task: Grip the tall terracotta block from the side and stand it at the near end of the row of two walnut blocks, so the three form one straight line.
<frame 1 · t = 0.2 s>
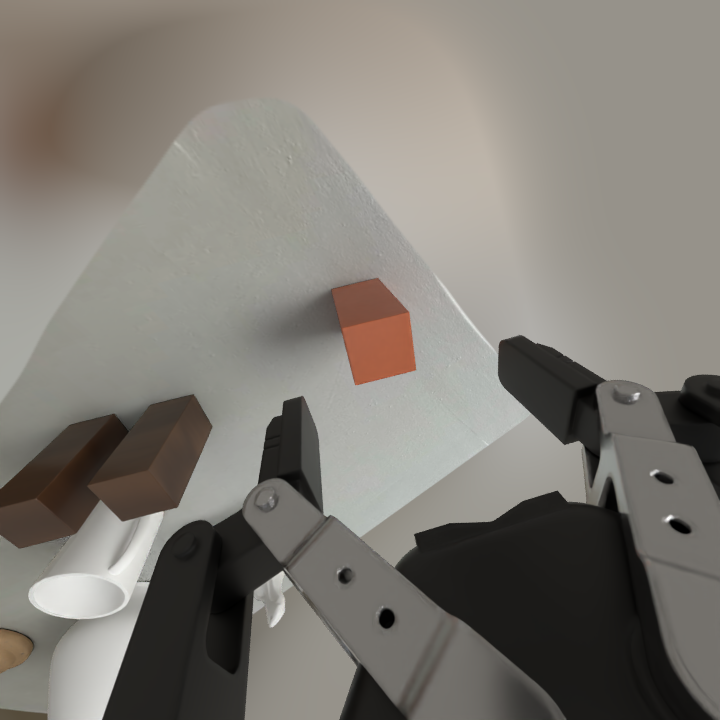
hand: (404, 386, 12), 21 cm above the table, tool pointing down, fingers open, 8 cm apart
vase: (142, 605, 51), on the table
walnut block mid: (182, 416, 35), on the table
terracotta block: (359, 306, 32), on the table
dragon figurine: (266, 511, 45), on the table
mug: (138, 504, 40), on the table
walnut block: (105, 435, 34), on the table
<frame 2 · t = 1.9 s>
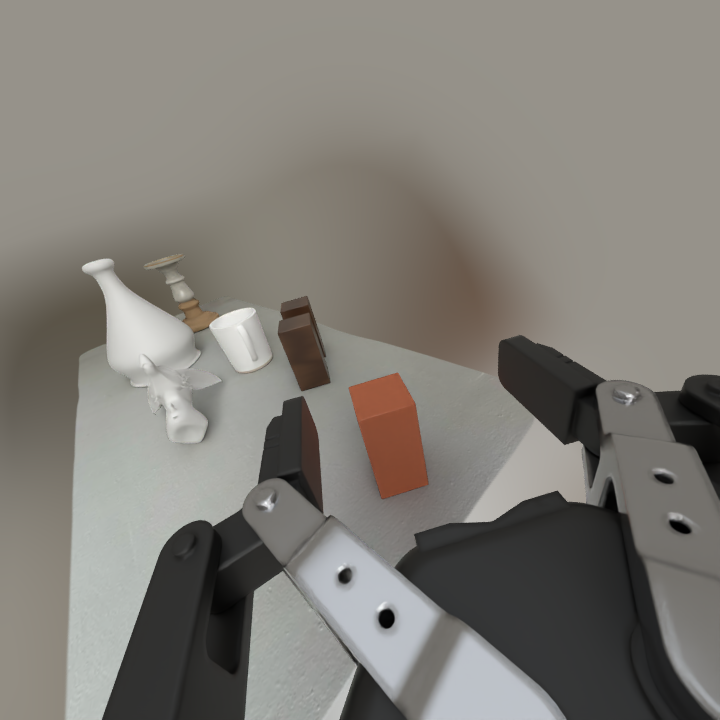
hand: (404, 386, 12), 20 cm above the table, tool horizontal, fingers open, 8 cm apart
vase: (167, 367, 70), on the table
walnut block mid: (315, 379, 51), on the table
candle holder: (200, 325, 92), on the table
terracotta block: (398, 472, 32), on the table
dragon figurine: (197, 425, 48), on the table
mug: (256, 364, 61), on the table
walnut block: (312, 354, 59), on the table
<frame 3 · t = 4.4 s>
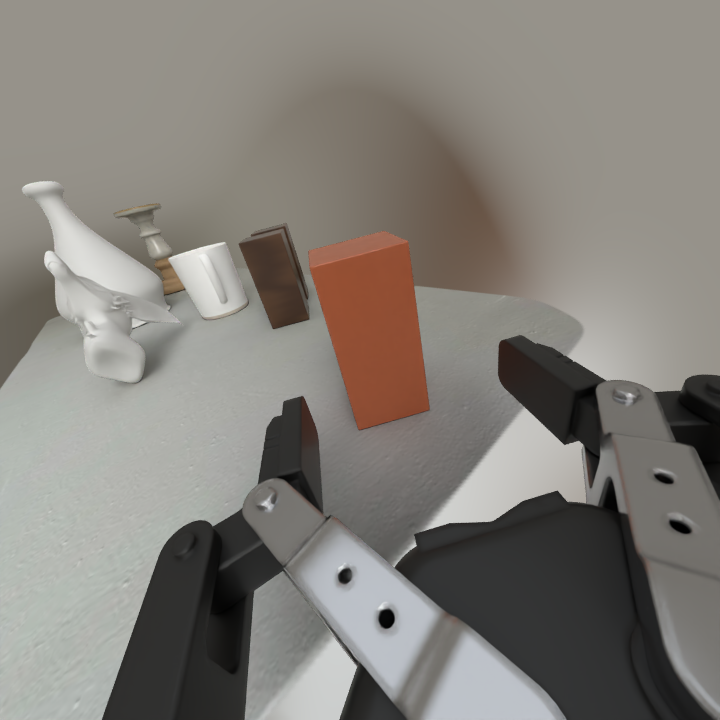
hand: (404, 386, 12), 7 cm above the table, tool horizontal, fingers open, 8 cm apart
vase: (131, 321, 61), on the table
walnut block mid: (291, 317, 42), on the table
candle holder: (180, 288, 83), on the table
terracotta block: (385, 398, 22), on the table
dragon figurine: (141, 367, 38), on the table
mug: (227, 312, 52), on the table
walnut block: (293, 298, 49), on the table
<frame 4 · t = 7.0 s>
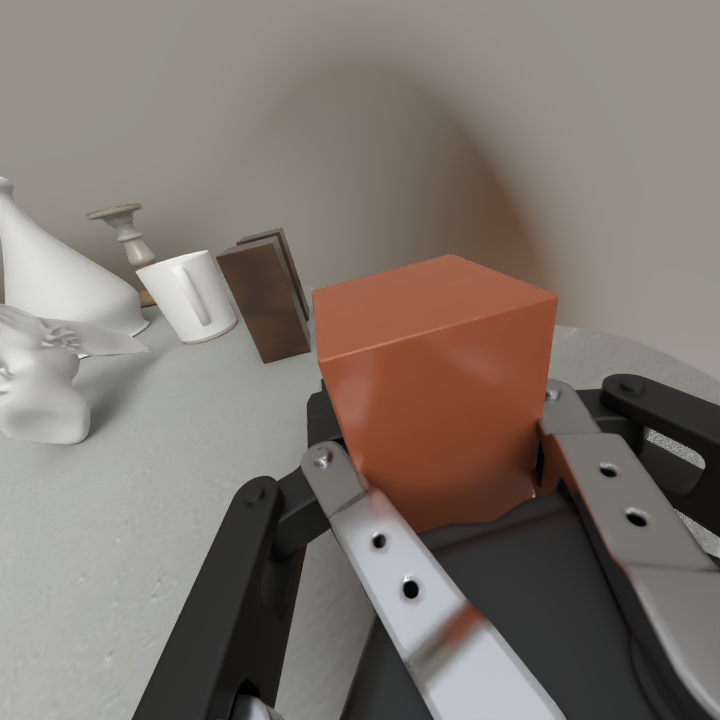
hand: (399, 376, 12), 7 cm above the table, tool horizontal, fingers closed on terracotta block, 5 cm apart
vase: (102, 341, 53), on the table
walnut block mid: (288, 347, 33), on the table
candle holder: (165, 298, 74), on the table
terracotta block: (437, 522, 13), on the table, touching gripper
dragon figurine: (94, 414, 30), on the table
mug: (212, 334, 43), on the table
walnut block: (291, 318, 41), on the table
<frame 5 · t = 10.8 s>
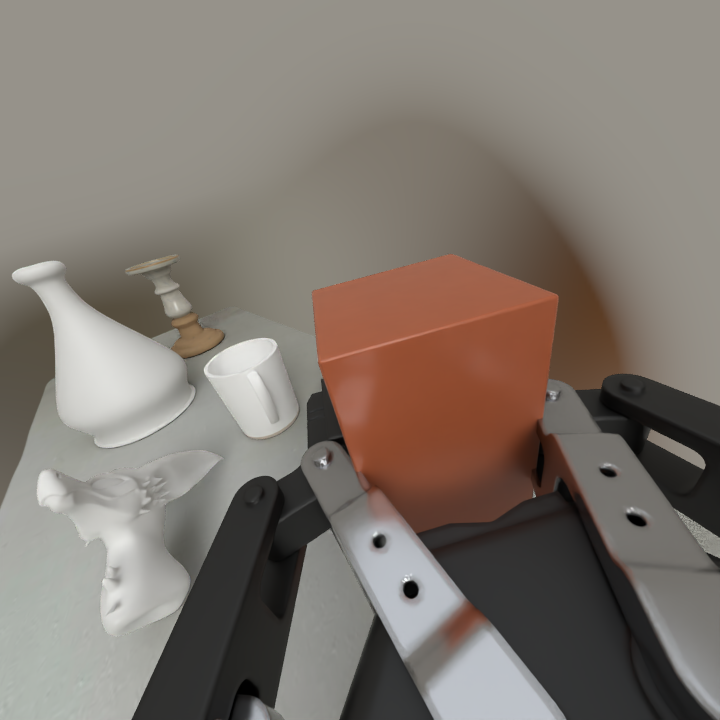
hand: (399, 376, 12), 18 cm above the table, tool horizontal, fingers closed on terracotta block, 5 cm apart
vase: (148, 413, 50), on the table
candle holder: (199, 346, 72), on the table
terracotta block: (437, 522, 13), point 11 cm above the table, touching gripper
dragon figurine: (176, 554, 27), on the table
mug: (274, 423, 41), on the table
when the fingers open (7 cm above the table, at t = 14.9 s): terracotta block stays where it is, on the table.
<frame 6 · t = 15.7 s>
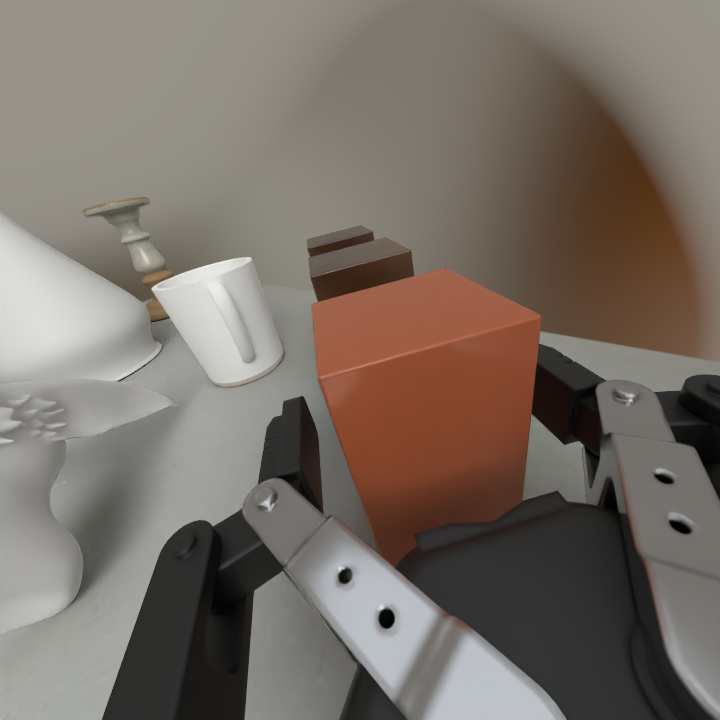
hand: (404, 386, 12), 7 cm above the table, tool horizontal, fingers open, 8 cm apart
vase: (102, 371, 41), on the table
walnut block mid: (386, 406, 22), on the table
candle holder: (176, 309, 63), on the table
terracotta block: (433, 524, 14), on the table
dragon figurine: (91, 526, 18), on the table
mug: (252, 370, 32), on the table
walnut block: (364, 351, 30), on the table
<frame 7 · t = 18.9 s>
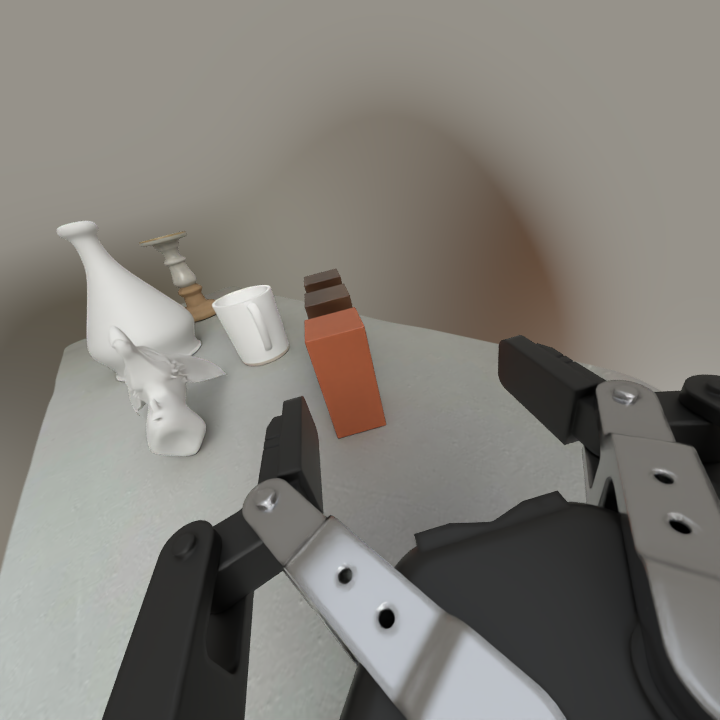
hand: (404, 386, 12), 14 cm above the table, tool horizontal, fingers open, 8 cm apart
vase: (161, 359, 59), on the table
walnut block mid: (347, 372, 40), on the table
candle holder: (202, 315, 81), on the table
terracotta block: (358, 416, 32), on the table
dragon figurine: (192, 430, 36), on the table
mug: (268, 356, 49), on the table
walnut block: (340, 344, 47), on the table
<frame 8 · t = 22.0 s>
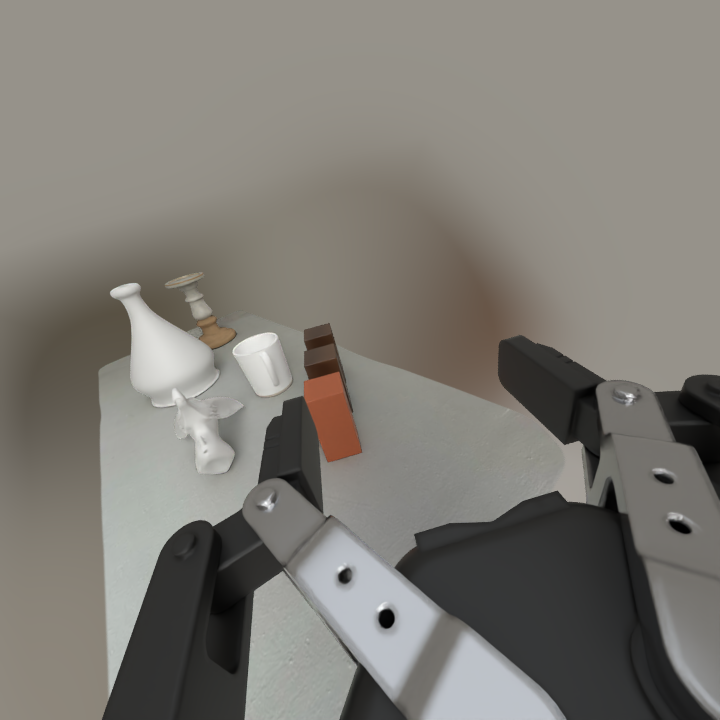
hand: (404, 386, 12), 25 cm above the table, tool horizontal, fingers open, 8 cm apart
vase: (187, 386, 71), on the table
walnut block mid: (337, 407, 52), on the table
candle holder: (217, 341, 93), on the table
terracotta block: (343, 444, 44), on the table
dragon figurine: (221, 452, 49), on the table
mug: (276, 388, 62), on the table
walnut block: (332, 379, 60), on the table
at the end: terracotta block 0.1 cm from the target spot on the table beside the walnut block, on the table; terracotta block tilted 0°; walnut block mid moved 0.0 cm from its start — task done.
